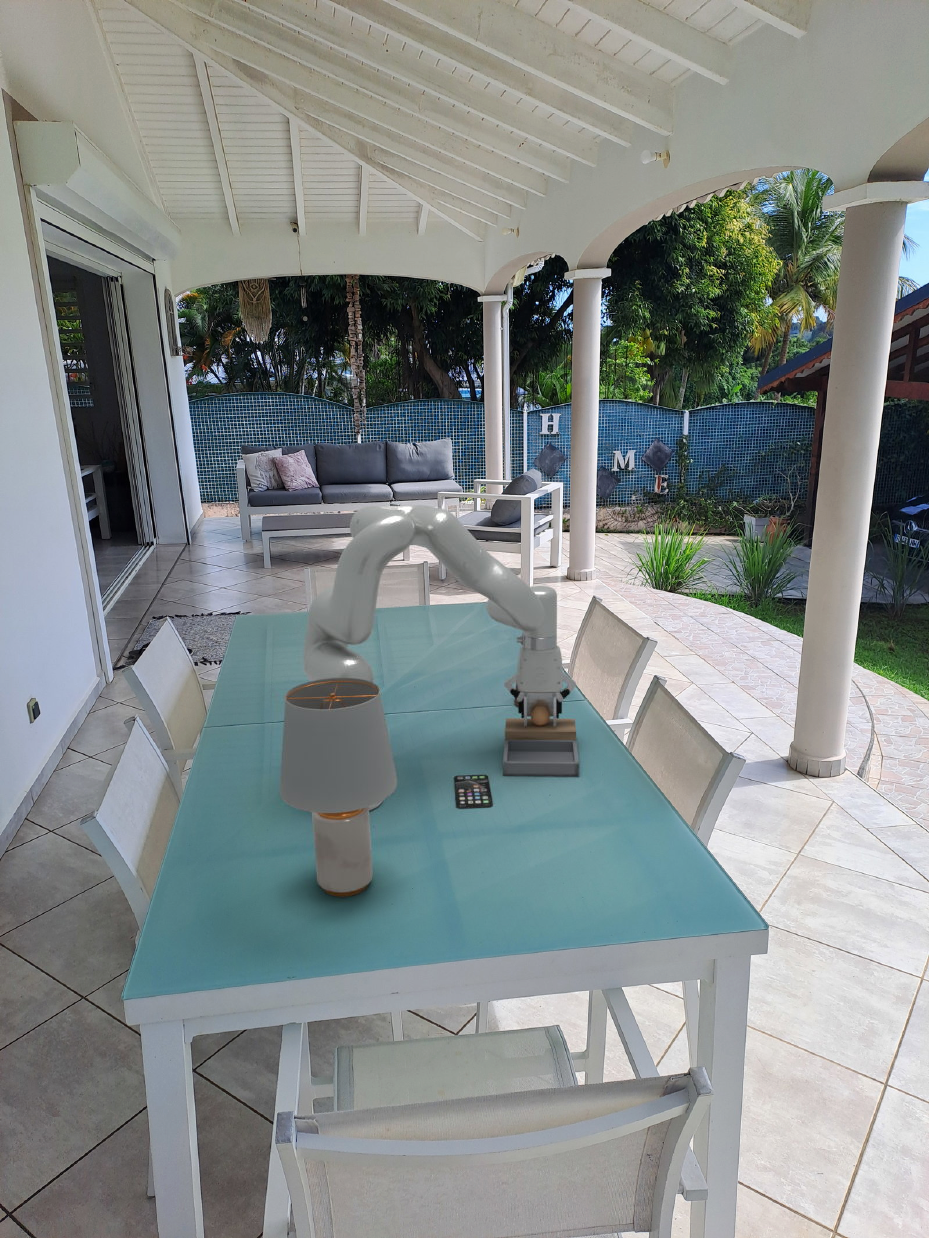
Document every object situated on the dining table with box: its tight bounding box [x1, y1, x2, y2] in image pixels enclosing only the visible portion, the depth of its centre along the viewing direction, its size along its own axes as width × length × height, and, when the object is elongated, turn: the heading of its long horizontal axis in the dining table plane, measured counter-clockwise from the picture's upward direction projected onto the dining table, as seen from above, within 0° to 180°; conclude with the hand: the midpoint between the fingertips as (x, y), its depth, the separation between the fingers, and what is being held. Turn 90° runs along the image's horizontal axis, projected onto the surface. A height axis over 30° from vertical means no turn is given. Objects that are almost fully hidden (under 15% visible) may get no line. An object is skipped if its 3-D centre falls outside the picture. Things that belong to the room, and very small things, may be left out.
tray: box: [502, 739, 580, 778], centre depth 190 cm, size 13×16×3 cm
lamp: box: [279, 678, 398, 898], centre depth 141 cm, size 19×19×34 cm
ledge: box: [504, 717, 577, 741], centre depth 199 cm, size 8×16×5 cm, turn 85°
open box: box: [523, 693, 557, 726], centre depth 197 cm, size 7×7×7 cm
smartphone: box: [453, 774, 494, 810], centre depth 178 cm, size 7×1×15 cm
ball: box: [530, 706, 551, 725], centre depth 198 cm, size 4×4×4 cm
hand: (540, 715), depth 198 cm, fingers closed on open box, 7 cm apart
